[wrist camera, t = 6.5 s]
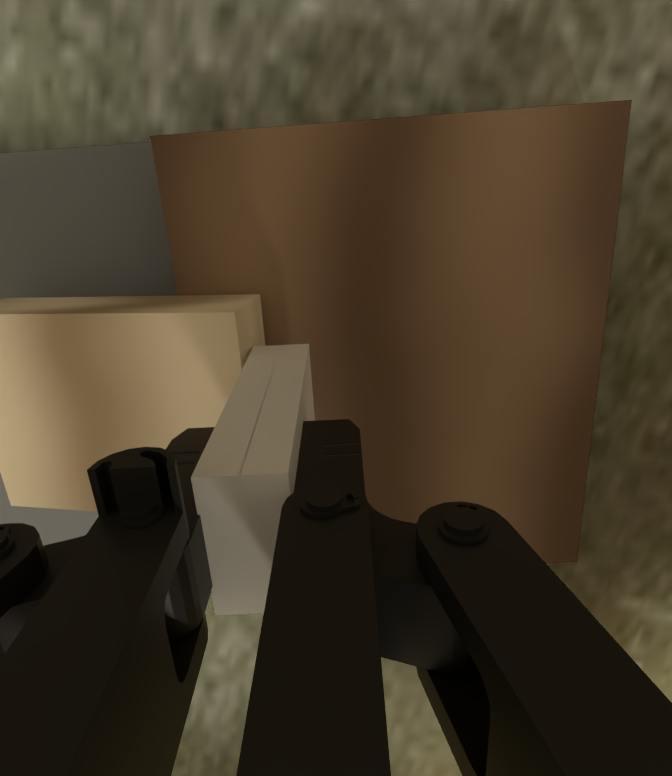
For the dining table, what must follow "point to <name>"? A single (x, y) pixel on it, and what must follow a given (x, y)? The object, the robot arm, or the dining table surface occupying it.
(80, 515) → the slate mat
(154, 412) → the birch tile
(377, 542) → the robot arm
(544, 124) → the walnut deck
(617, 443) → the dining table surface
